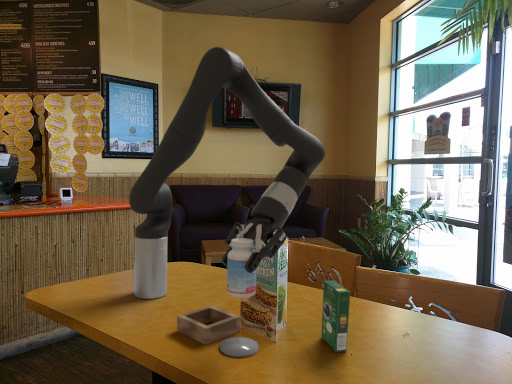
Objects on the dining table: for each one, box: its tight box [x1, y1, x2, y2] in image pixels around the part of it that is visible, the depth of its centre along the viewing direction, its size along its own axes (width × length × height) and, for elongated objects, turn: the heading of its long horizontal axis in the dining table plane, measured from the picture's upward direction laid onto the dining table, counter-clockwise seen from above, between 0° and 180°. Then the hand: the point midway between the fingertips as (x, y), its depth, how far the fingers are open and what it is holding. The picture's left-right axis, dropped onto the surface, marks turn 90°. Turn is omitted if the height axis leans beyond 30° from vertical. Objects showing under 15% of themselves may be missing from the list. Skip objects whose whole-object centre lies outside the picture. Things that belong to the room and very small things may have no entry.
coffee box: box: [320, 280, 351, 353], centre depth 84 cm, size 8×3×13 cm, turn 13°
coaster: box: [219, 336, 259, 358], centre depth 81 cm, size 8×8×1 cm
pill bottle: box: [226, 237, 257, 298], centre depth 80 cm, size 6×6×11 cm
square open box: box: [176, 305, 241, 346], centre depth 89 cm, size 10×10×4 cm
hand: (236, 267), depth 79 cm, fingers closed on pill bottle, 6 cm apart
